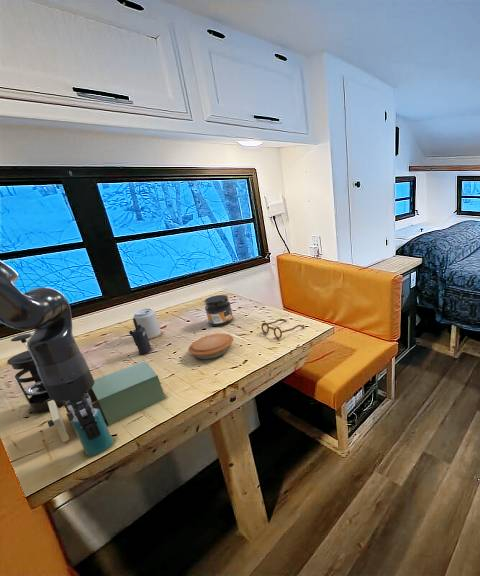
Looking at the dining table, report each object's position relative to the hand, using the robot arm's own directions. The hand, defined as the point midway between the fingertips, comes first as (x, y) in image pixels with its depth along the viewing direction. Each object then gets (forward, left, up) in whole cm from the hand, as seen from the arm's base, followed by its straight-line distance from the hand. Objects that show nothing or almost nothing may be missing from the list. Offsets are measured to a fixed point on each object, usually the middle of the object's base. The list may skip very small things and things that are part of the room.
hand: (92, 431), depth 75 cm
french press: (-5, +33, -5) cm, 34 cm away
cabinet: (+10, +14, -5) cm, 18 cm away
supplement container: (+52, +48, -5) cm, 71 cm away
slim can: (0, 0, -5) cm, 5 cm away
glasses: (+65, +17, -5) cm, 67 cm away
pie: (+38, +24, -5) cm, 45 cm away
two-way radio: (+21, +46, -5) cm, 51 cm away
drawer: (0, +14, -4) cm, 15 cm away
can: (+27, +59, -5) cm, 65 cm away
